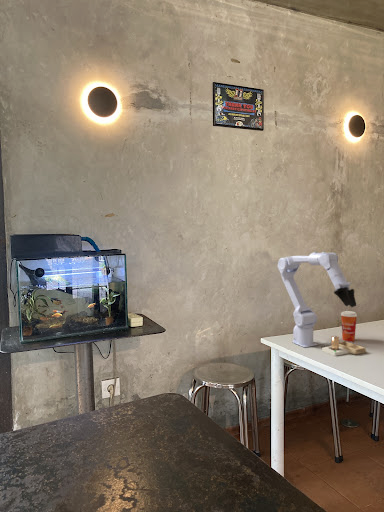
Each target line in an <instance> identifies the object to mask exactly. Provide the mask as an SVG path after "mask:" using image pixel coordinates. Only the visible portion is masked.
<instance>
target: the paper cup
mask: <svg viewBox="0 0 384 512" xmlns="http://www.w3.org/2000/svg"><path fill="white" fill-rule="evenodd" d="M340 316H341V317H340V318H341V334H342V336H341V337H342V341H346V342H349V343H352V342H354V341H355V340H356V339H355V337H356V327H357V326H356V325H357V317H358V315H357V312H355V311H349V310H345V311H344V310H343V311H341V312H340Z"/></svg>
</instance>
